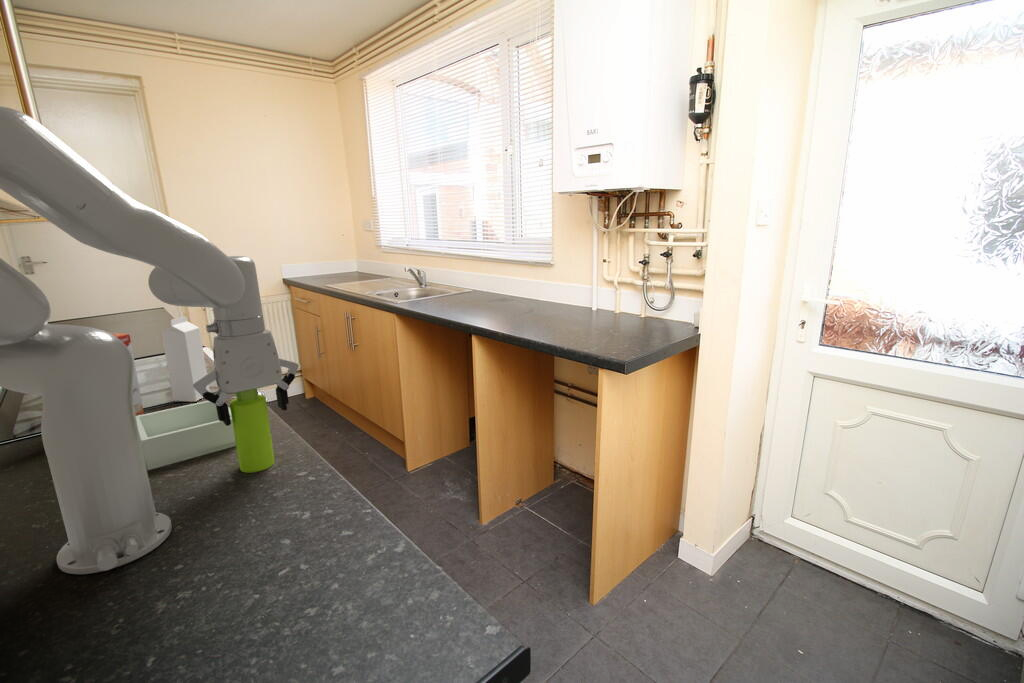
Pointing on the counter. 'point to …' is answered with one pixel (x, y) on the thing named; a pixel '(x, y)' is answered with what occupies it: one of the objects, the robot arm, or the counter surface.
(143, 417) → the tub
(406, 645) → the counter surface
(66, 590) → the counter surface
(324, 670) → the counter surface
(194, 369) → the milk
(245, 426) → the soap dispenser
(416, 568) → the counter surface
